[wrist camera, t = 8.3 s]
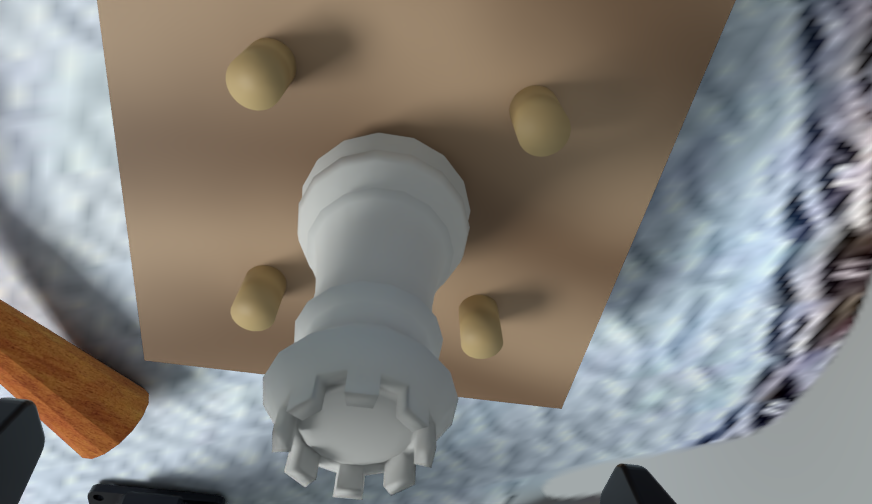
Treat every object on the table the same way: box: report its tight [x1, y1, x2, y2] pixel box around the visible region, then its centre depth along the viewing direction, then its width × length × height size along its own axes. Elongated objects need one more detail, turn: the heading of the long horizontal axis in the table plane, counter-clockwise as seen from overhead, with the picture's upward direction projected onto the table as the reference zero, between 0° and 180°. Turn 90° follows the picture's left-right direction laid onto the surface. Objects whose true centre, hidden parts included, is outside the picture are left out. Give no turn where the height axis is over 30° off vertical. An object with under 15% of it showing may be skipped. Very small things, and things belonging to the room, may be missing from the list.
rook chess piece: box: [263, 133, 470, 500], centre depth 12 cm, size 4×4×8 cm
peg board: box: [97, 0, 736, 409], centre depth 17 cm, size 14×14×6 cm
